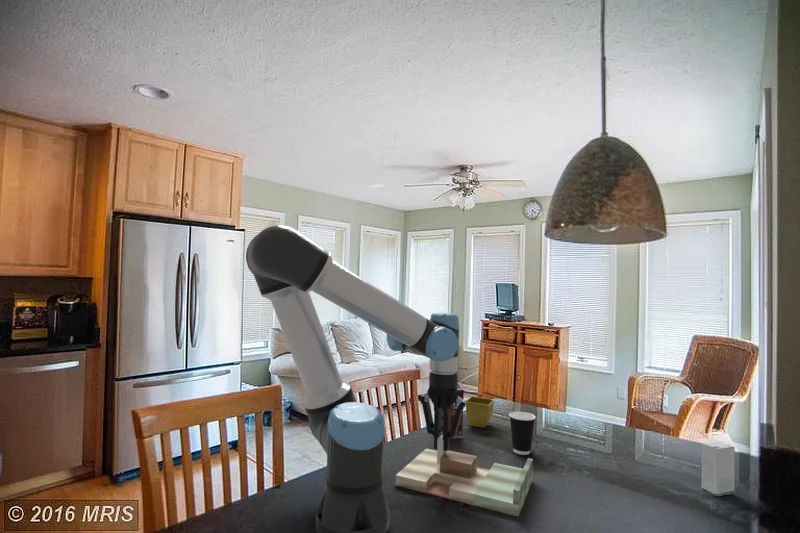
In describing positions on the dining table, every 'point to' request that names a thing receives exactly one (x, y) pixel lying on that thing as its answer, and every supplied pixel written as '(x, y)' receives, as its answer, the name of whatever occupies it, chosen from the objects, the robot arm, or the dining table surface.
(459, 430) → the supplement box
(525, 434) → the dixie cup
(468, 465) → the walnut block
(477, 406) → the flower pot
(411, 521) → the dining table surface
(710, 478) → the skincare box
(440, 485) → the platform
